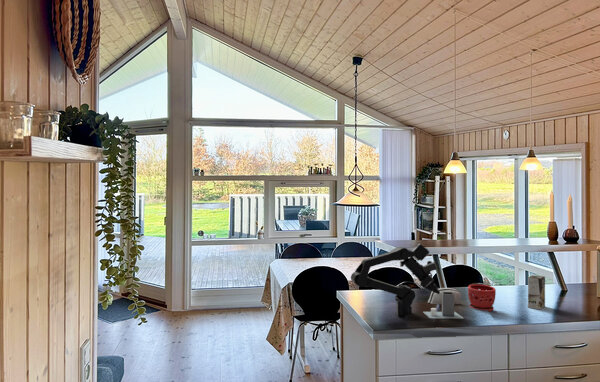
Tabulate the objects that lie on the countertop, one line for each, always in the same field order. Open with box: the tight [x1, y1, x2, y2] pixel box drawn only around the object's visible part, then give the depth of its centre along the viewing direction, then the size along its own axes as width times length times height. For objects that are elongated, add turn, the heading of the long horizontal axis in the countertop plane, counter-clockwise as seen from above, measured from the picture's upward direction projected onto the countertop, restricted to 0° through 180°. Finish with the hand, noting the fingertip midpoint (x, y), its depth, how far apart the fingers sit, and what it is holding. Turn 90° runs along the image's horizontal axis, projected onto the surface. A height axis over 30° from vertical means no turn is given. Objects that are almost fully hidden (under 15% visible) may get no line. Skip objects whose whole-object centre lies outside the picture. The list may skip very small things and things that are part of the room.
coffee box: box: [527, 275, 546, 311], centre depth 223 cm, size 9×6×16 cm
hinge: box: [427, 287, 461, 305], centre depth 229 cm, size 17×5×10 cm, turn 97°
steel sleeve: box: [441, 292, 455, 317], centre depth 203 cm, size 5×5×10 cm
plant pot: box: [467, 284, 497, 313], centre depth 217 cm, size 13×13×12 cm
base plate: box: [423, 307, 464, 319], centre depth 202 cm, size 16×11×4 cm
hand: (438, 291), depth 204 cm, fingers open, 9 cm apart
